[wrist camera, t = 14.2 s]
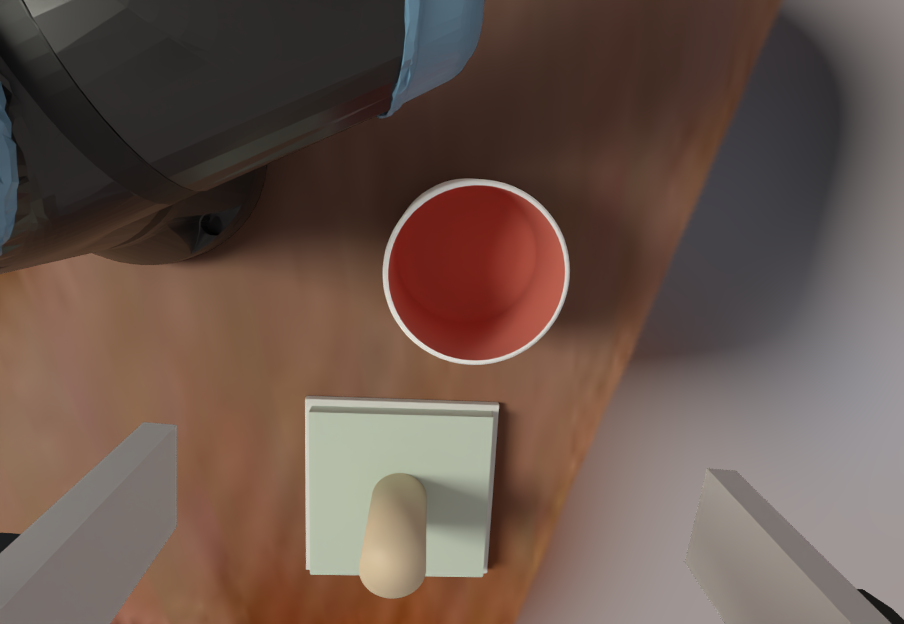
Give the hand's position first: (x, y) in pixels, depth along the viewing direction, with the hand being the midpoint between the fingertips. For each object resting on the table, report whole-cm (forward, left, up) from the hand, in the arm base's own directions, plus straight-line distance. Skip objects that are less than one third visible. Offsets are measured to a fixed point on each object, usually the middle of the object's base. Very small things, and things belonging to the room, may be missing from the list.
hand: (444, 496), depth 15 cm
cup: (+2, +3, -28) cm, 28 cm away
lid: (-2, -15, -27) cm, 31 cm away
